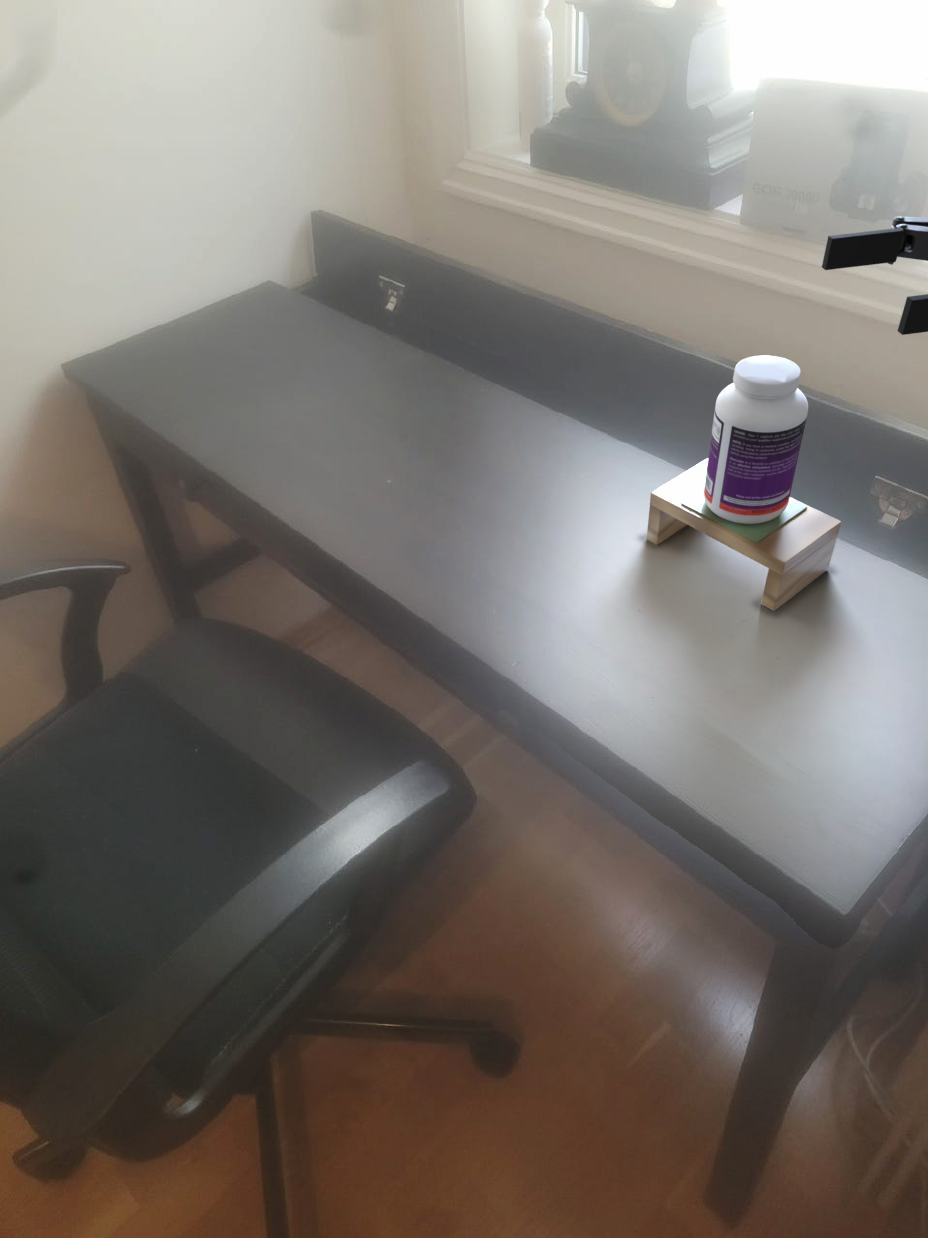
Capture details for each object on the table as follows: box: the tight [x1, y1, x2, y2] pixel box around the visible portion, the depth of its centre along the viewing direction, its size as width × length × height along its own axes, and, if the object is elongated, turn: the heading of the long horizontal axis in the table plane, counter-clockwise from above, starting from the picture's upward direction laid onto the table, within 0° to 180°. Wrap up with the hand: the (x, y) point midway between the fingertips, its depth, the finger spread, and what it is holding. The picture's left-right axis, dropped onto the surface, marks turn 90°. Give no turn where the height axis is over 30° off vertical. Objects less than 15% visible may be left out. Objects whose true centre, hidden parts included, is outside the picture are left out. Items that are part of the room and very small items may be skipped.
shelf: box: [646, 457, 842, 612], centre depth 87 cm, size 16×9×6 cm, turn 40°
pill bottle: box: [704, 354, 809, 524], centre depth 80 cm, size 8×8×14 cm
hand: (862, 282), depth 71 cm, fingers open, 13 cm apart
